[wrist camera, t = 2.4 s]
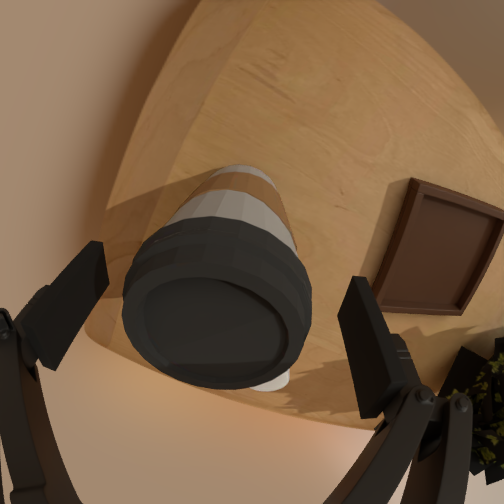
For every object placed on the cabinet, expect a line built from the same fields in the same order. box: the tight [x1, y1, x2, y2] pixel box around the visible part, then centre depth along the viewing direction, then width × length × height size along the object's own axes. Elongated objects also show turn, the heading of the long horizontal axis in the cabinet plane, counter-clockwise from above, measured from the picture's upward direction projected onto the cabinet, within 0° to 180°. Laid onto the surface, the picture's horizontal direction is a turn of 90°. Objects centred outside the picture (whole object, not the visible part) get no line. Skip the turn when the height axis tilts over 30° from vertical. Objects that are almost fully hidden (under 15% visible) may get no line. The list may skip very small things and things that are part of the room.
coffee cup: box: [122, 165, 312, 390], centre depth 17 cm, size 8×8×15 cm
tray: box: [371, 178, 504, 316], centre depth 24 cm, size 14×14×2 cm
